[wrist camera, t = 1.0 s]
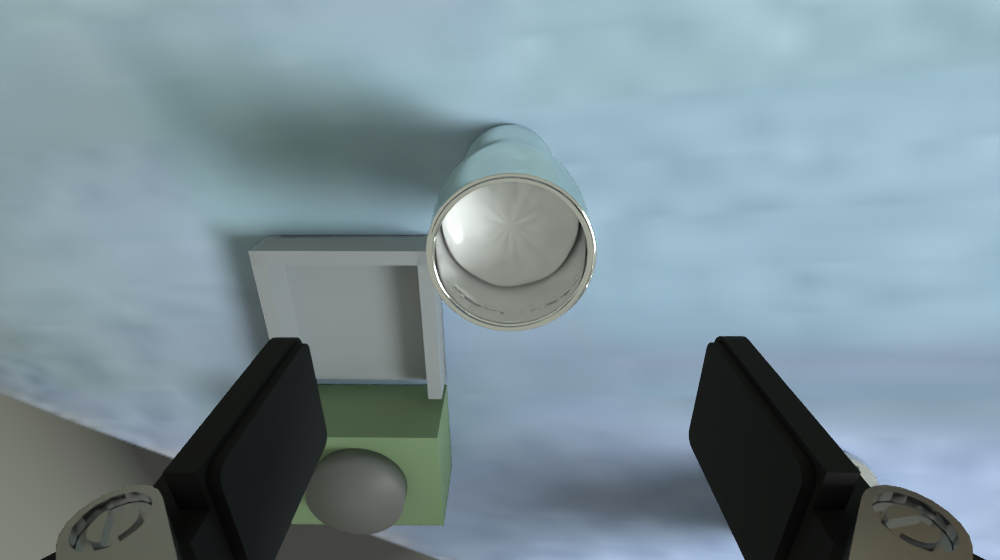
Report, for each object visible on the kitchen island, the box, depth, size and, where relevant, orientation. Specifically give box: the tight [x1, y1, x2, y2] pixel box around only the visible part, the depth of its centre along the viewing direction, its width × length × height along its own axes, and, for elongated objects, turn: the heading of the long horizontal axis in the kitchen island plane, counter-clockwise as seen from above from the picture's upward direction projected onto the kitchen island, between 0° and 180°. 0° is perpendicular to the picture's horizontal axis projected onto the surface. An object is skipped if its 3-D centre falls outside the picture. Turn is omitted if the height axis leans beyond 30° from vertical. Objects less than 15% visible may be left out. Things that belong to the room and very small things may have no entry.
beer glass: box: [426, 125, 597, 331], centre depth 25 cm, size 7×7×15 cm
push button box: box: [248, 235, 452, 534], centre depth 35 cm, size 12×22×8 cm, turn 0°
